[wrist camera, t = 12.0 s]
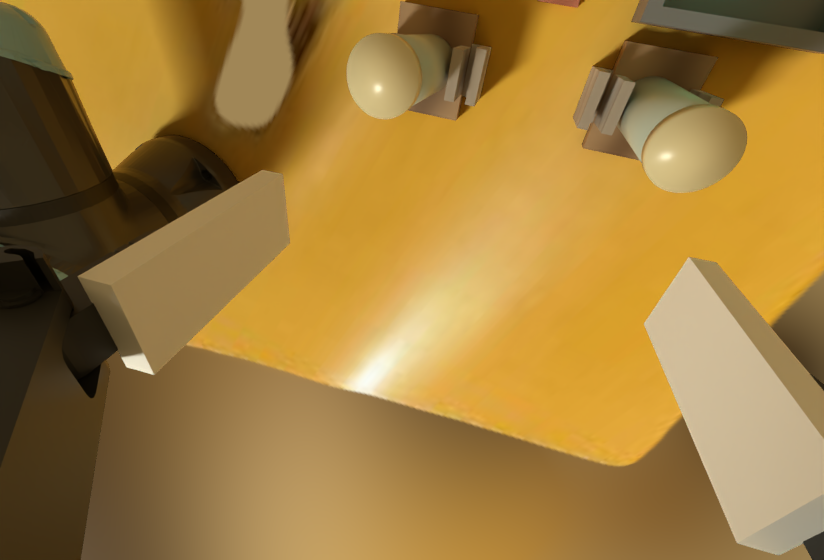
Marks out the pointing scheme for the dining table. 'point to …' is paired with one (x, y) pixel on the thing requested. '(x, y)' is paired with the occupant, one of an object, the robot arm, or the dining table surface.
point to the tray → (742, 20)
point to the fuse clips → (600, 93)
